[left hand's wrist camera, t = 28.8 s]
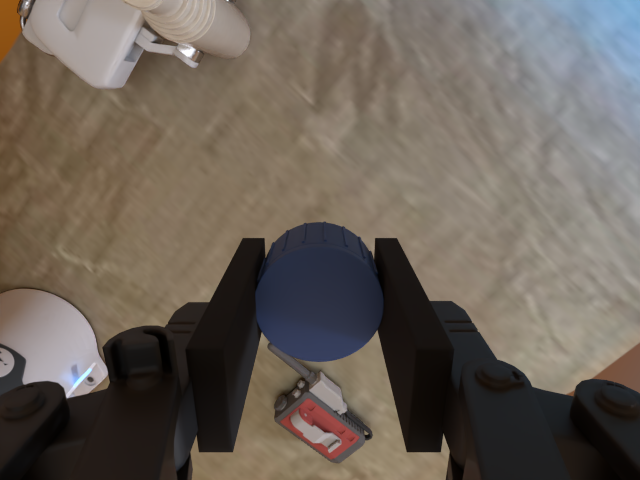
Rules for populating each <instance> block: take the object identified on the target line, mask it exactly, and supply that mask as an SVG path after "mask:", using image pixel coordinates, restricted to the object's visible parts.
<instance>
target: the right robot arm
mask: <svg viewBox="0 0 640 480" xmlns="http://www.w3.org/2000/svg"><path fill="white" fill-rule="evenodd" d="M230 1H231V2H232V3H234V4H235V2H236V0H230ZM17 13H18V14H19V15H20V26H21V29H22V33H23V35H24V37H25V38H26V39H27V40H28V41H29V42H31V43H32V44H33V45H35V46H36V47H37V48H39V49H40V50H42V51H43V52H45V53H46V54H48V55H51V56H55V57H56V58H58V59H59V60H60V61H61V62H62V63H63V64H64V65H65V66H66V67H68V68H69V69H70V70H71V71H72V72H74V73H75V74H76V75H77V76H78V77H80V78H81V79H82V80H84V81H85V82H86V83H88V84H89V85H91V86H92V87H94V88H98V89H116V88H121V87H123V86H124V85H125V83H126V81H127V79H128V77H129V76H130V74H131V72H132V70H133V68H134V67H135V65H136V63H137V61H138V59H139V58H140V56H141V54H142V52H143V50H144V49H145V50H146V51H148V52H153V53H157V54H164V55H172V56H177V57H178V58H179V59H181V60H182V61H183V62H184V63H186V64H187V65H189V66H190V67H192V68H196V67H197V66H198V64H199V62H200V61H201V59H202V57H203V56H204V53H203V52H202V51H199V50H196V49H193V48H190V47H187V46H184V45H181V44H179V43H178V45H177V46H170V45H163V44H162V42H163V41H164V40H163V38H162V37H161V36H159V35H158V34H157V33H155V32H154V29H153V28H152V27H151V26H150V25H149V24H148V22H147V21H146V19H145V18H144V16H143V14H142V13H141V11H140V10H137V9H134V8H132V7H130V6H129V5H127V4H126V3H124V2H123V1H121V0H20V1H19V4H18V8H17ZM26 19H28V20H27V22H26ZM107 375H108V371H107V367H106V365H105V363H104V362H103V360H102V359H101V357H100V356H99V353H98V349H97V343H96V338H95V335H94V332H93V330H92V328H91V326H90V324H89V323H88V321H87V320H86V319H85V317H84V316H83V315H82V314H81V313H80V312H79V311H78V310H77V309H76V308H75V307H74V306H72V305H71V304H70V303H68V302H67V301H65V300H63V299H62V298H60V297H58V296H56V295H53V294H51V293H48V292H44V291H41V290H35V289H14V290H9V291H6V292H3V293H0V396H1V395H2V394H4V393H6V392H8V391H10V390H12V389H14V388H16V387H18V386H21V385H24V384H28V383H32V382H39V381H52V382H57V383H59V384H60V385H61V386H62V387H64V390H65V394H66V397H67V398H70V397H75V396H79V395H84V394H88V393H89V392H90V391H91V390H92V389H94V388H95V387H96V386H97V385H98V384H99V383H100V382H102V381H103V380H104V379H105V378H106V376H107ZM91 377H92V378H91Z"/></svg>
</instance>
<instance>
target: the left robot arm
mask: <svg viewBox="0 0 640 480" xmlns="http://www.w3.org/2000/svg"><path fill="white" fill-rule="evenodd" d="M264 258H265V240H264V238H243V239H242V241H241V243H240V245H239V247H238V249H237V251H236V253H235V254H234V256H233V258H232V260H231V262H230V264H229V266H228V268H227V270H226V272H225V274H224V276H223V277H222V279H221V281H220V283H219V285H218V287H217V289H216V291H215V293H214V295H213V297H212V299H211V301H210V302H188V303H187V304H185V305H184V306H182V307H181V308H180V309H178V310H177V311H175V313H174V314H173V316H172V317H171V319H170V320H169V322H168V324H167V325H166V326H165V328H164V327H161V326H141V327H136V328H132V329H129V330H126V331H124V332H121V333H119V334H117V335H116V336H114V337H113V338H111V339H109V340H108V342H107V343H106V344H105V345H104V346H103V347H102V348H103V352H104V357H105V362H106V366H107V371H108V375H109V380H110V384H109V386H108V388H107V389H105V390H101V391H98V392H94V393H89V394H84V395H79V396H75V397H70V398H67V397H66V394H65V390H64V387H62V386H61V385H60V384H59V383H57V382H52V381H39V382H32V383H28V384H24V385H21V386H18V387H16V388H14V389H12V390H10V391H8V392H6V393H4V394H2V395H1V396H0V480H192V471H193V468H192V461H191V454H190V451H191V448H192V446H193V443H194V440H195V437H196V434H197V441H198V448H199V452H233V449H234V445H235V441H236V437H237V433H238V429H239V424H240V420H241V416H242V412H243V408H244V404H245V399H246V395H247V391H248V387H249V383H250V379H251V374H252V370H253V366H254V362H255V358H256V354H257V349H258V345H259V341H260V337H261V333H262V331H261V329H260V327H259V325H258V323H257V315H256V299H255V291H256V288H257V285H258V282H257V278H258V275H259V272H260V269H261V266H262V263H263V260H264ZM374 261H375V265H376V268H377V271H378V274H377V275H378V279H379V282H380V285H381V288H382V291H383V297H384V309H383V316H382V320H381V323H380V325H379V327H378V329H377V330H378V334H379V338H380V342H381V346H382V351H383V355H384V359H385V363H386V367H387V371H388V376H389V380H390V384H391V388H392V392H393V396H394V400H395V405H396V409H397V413H398V417H399V421H400V425H401V430H402V434H403V438H404V442H405V446H406V450H407V452H441V446H442V439H443V433H444V436H445V439H446V441H447V444H448V447H449V450H450V454H449V461H448V468H447V475H446V480H640V393H638V392H636V391H634V390H632V389H630V388H628V387H626V386H624V385H622V384H619V383H614V382H612V381H607V380H599V379H589V380H584V381H581V382H580V383H579V384H578V385H577V386H576V389H575V392H574V396H569V395H564V394H559V393H555V392H550V391H545V390H541V389H538V388H534V387H532V385H531V383H530V381H529V380H528V378H527V377H526V376H525V374H524V373H523V372H521V371H520V370H519V369H517V368H516V367H514V366H512V365H510V364H508V363H506V362H503V361H500V360H497V358H496V357H495V355H494V354H493V352H492V351H491V349H490V348H489V346H488V345H487V343H486V342H485V340H484V339H483V337H482V336H481V334H480V333H479V332H478V330H477V328H476V327H475V325H474V324H473V323H472V321H471V319H470V317H469V316H468V314H467V313H466V311H465V310H464V309H462V308H461V307H459V306H458V305H456V304H455V303H453V302H452V301H429V299H428V297H427V295H426V293H425V291H424V290H423V288H422V286H421V284H420V282H419V280H418V278H417V276H416V274H415V272H414V270H413V268H412V266H411V265H410V263H409V261H408V259H407V257H406V255H405V253H404V251H403V249H402V247H401V245H400V243H399V242H398V240H397V238H375V254H374Z"/></svg>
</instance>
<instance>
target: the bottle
mask: <svg viewBox="0 0 640 480" xmlns="http://www.w3.org/2000/svg"><path fill="white" fill-rule="evenodd" d="M121 1H123V2H124V3H126V4H127V5H129V6H130V7H132V8H134V9H137V10H140V11H141V13H142V14H143V16H144V18H145V19H146V21H147V22H148V24H149V25H150V26H151V27H152V28H153V29H154V30H155V31H156V32H157V33H158V34H160V35H161V36H162V37H164V38H166V39H168V40H170V41H173V42H176V43H179V44H181V45H184V46H187V47H190V48H193V49H196V50H199V51H202V52H205V53H208V54H211V55H214V56H217V57H220V58H224V59H232V58H236V57H238V56H240V55H241V54H242V53H243V52H244V51H245V50H246V49H247V47H248V44H249V42H250V26H249V23H248V21H247V19H246V17H245V16H244V14H243V13H242V12H241V11H240V10H239V9H238V8H237V7H236V6H235V5H234V4H233V3H232V2H231V1H230V0H121Z"/></svg>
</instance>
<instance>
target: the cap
mask: <svg viewBox="0 0 640 480" xmlns="http://www.w3.org/2000/svg"><path fill="white" fill-rule="evenodd" d="M377 274H378V271H377V268H376V265H375V261H374V258H373V255H372V252H371V251H369V250H368V248H367V247H366V245H365V244H364V243H363V242H362V240H361V238H360V237H357V236H356V235H355V234H354V233H352V232H351V231H349V230H347V229H345V227H344V226H343V227H341V226H338V225H335V224H330V223H326V222H323V223H322V222H317V223H308V224H306V223H304V224H303V225H300V226H297V227H295V228H293V229H291V230H289V231H288V230H287V231H286V233H284V234H283V235H282V236H281V237H279V238H278V239H277V241H276V242H275V243H274V242H273V243H272V246H271V248H270V250H269V252H268V254H267V257H266V258H264V260H263V263H262V266H261V269H260V272H259V275H258V278H257V282H258V285H257V288H256V291H255V299H256V315H257V323H258V325H259V327H260V329H261V331H262V333H263V334H264V336H265V337H266V338H267V339H268V340H269V341H270V342H271V343H272V344H273V345H274V346H275V347H276V348H278V349H279V350H280V351H282V352H284V353H286V354H287V355H290V356H292V357H294V358H298V359H301V360H306V361H314V362H324V361H332V360H337V359H340V358H343V357H346V356H348V355H351V354H352V353H354V352H356V351H358V350H359V349H360V348H362V347H363V346H364V345H365V344H366V343H367V342H369V340H370V339H371V338H372V337H373V336H374V334H375V332H376V331H377V329H378V327H379V325H380V323H381V320H382V316H383V309H384V297H383V291H382V288H381V285H380V282H379V279H378V275H377Z"/></svg>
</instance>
